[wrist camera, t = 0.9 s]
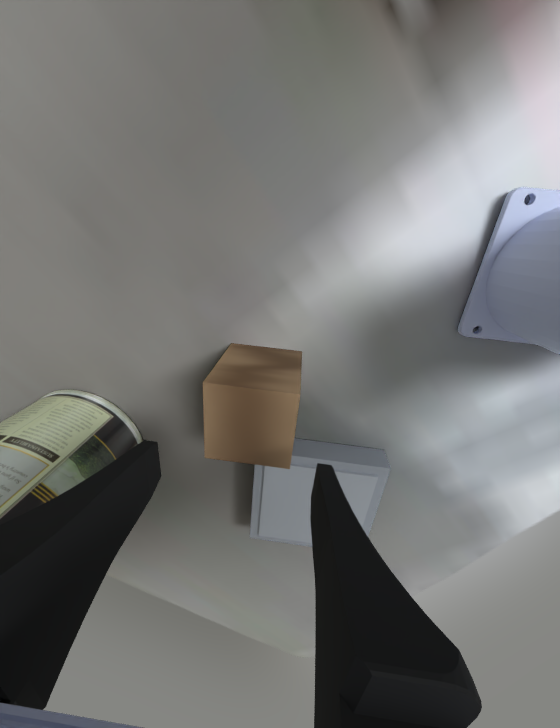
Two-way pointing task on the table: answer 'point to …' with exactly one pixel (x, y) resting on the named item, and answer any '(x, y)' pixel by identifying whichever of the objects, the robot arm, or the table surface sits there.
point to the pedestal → (294, 487)
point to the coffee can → (58, 447)
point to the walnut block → (252, 405)
